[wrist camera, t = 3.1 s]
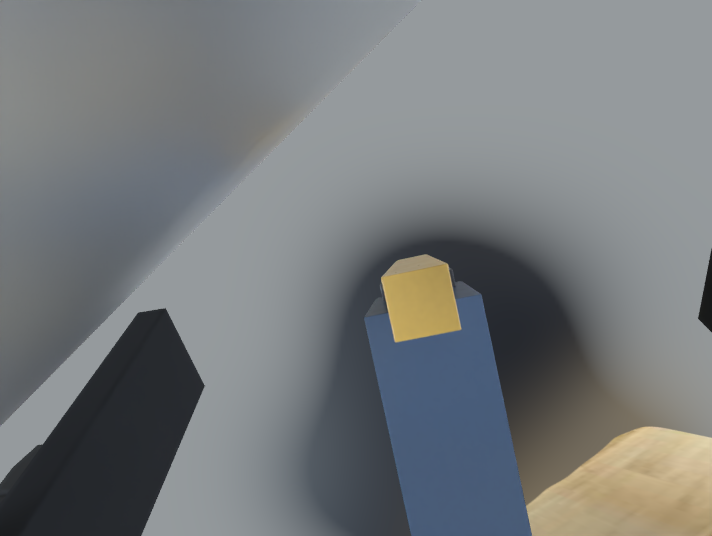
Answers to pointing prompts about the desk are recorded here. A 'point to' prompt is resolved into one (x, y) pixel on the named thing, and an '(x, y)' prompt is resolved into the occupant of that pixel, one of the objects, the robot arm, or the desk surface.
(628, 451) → the desk surface
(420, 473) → the door post
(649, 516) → the desk surface
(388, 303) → the bar
